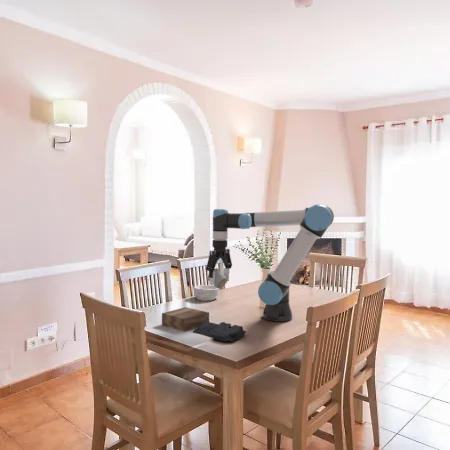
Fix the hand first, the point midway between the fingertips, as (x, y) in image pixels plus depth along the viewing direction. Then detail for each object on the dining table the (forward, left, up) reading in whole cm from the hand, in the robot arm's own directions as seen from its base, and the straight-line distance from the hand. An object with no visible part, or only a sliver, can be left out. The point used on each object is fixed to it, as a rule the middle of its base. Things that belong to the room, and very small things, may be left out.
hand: (219, 282), depth 214 cm
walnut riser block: (+6, +19, -19) cm, 27 cm away
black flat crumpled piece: (-15, +20, -19) cm, 31 cm away
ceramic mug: (0, 0, -3) cm, 3 cm away
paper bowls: (+31, -28, -19) cm, 45 cm away
